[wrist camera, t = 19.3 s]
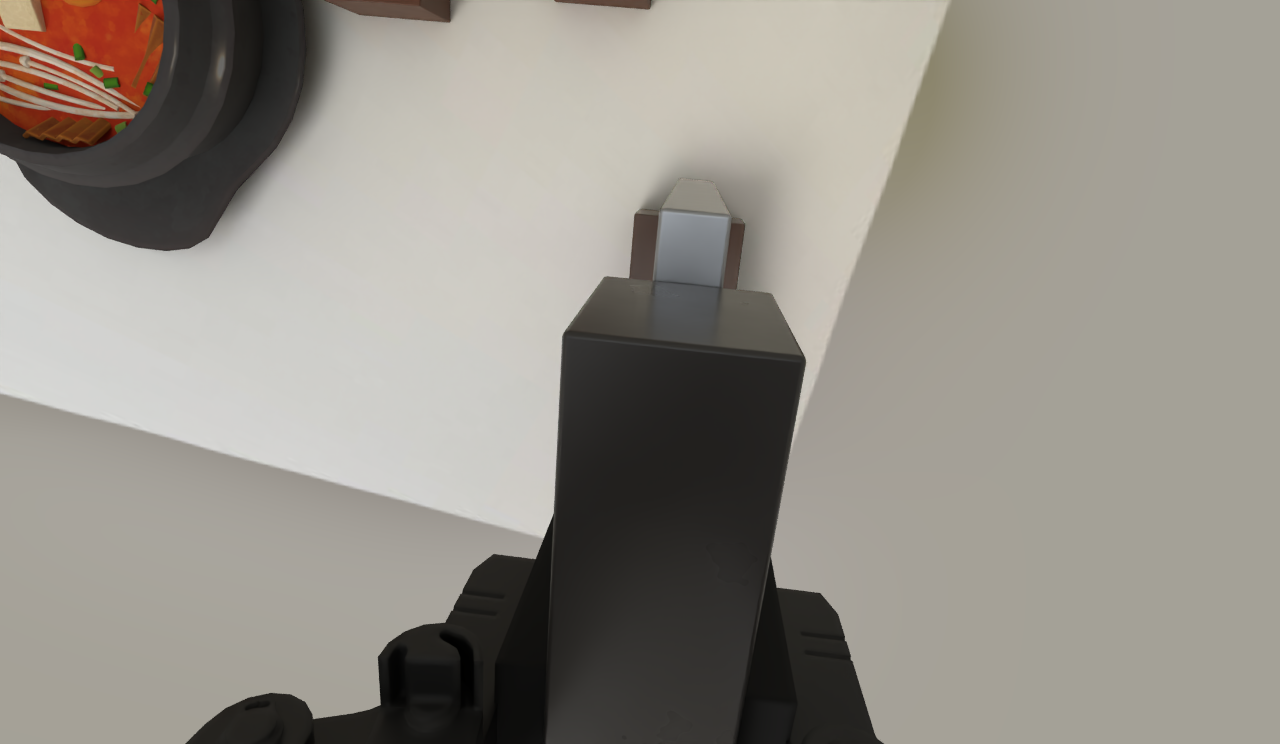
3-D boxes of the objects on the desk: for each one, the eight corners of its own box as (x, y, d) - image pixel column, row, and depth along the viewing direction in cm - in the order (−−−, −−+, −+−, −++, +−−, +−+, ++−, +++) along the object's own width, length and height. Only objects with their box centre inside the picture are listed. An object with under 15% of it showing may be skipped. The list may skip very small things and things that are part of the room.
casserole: (279, 293, 40) (176, 328, 32) (-14, 174, 39) (-195, 179, 31) (376, -167, 32) (270, -273, 24) (9, -332, 31) (-230, -501, 23)
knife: (738, 183, 18) (827, 252, 6) (684, 593, 23) (670, 1111, 10) (654, 175, 18) (566, 227, 6) (616, 584, 23) (525, 1087, 11)
